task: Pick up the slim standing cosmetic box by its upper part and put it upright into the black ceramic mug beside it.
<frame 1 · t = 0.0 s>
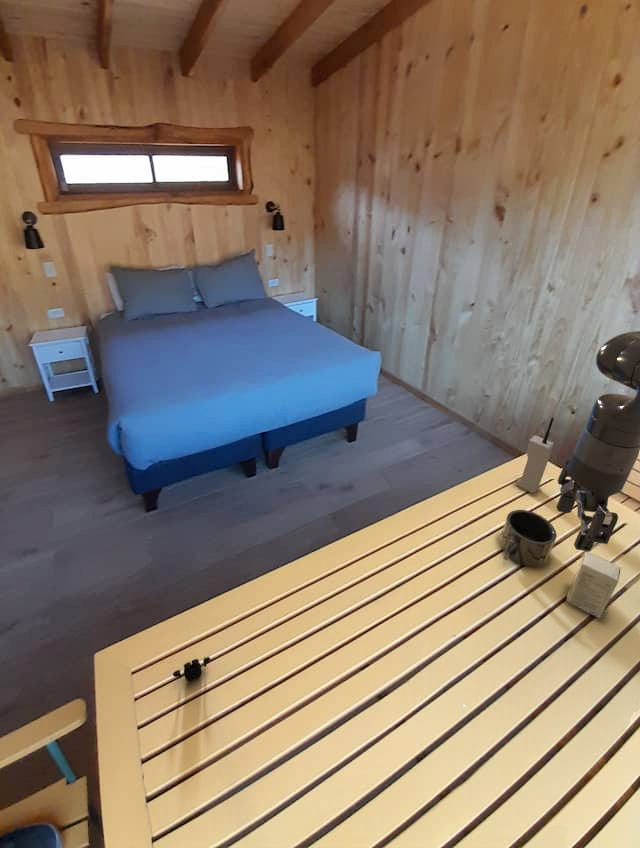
hand: (571, 528, 71), 28 cm above the table, tool pointing down, fingers open, 8 cm apart
cosmetic box: (582, 603, 88), on the table
wireless earbuds: (194, 679, 76), on the table
mug: (522, 549, 100), on the table
vintage mobile phone: (526, 487, 119), on the table
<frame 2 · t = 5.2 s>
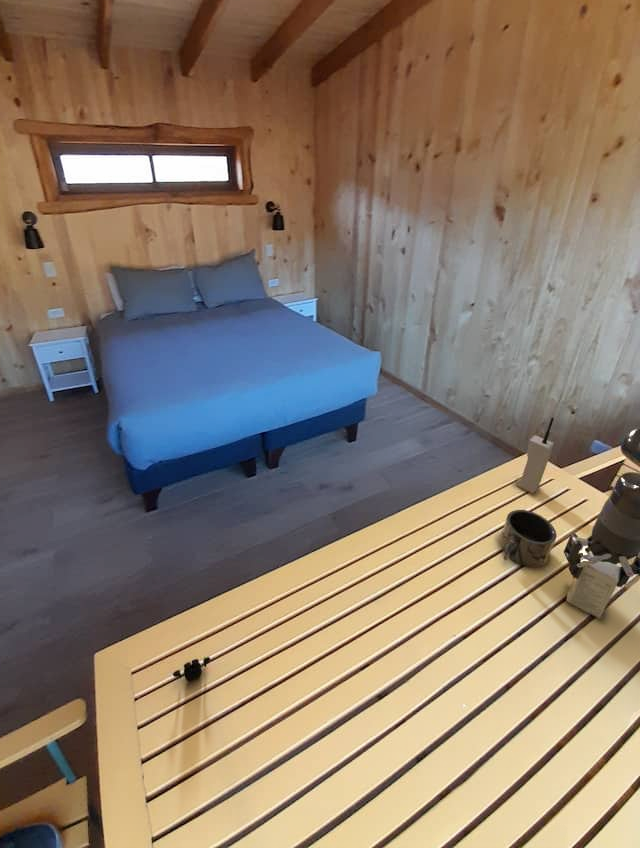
hand: (595, 578, 84), 8 cm above the table, tool pointing down, fingers closed on cosmetic box, 7 cm apart
cosmetic box: (582, 603, 88), on the table, touching gripper
everything else where it was.
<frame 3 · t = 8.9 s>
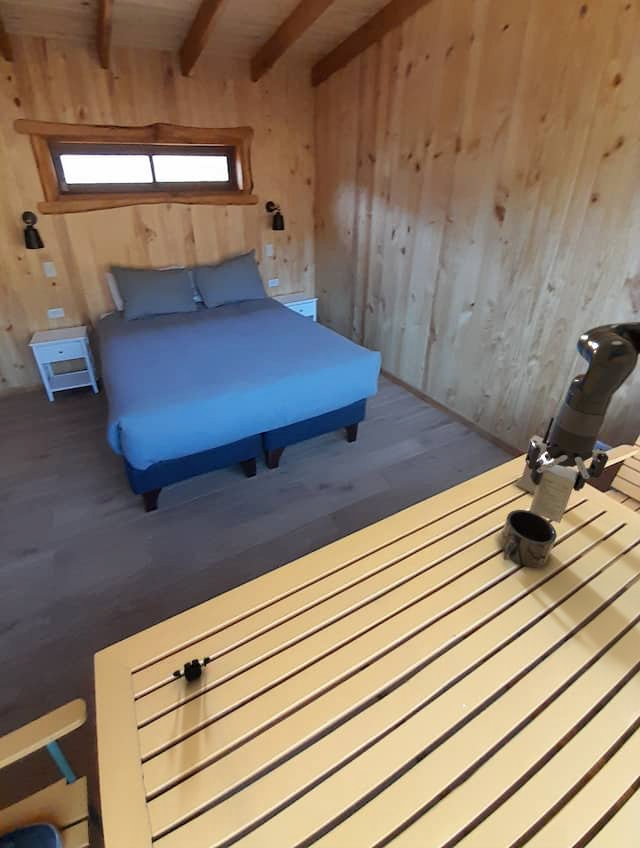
hand: (555, 485, 89), 22 cm above the table, tool pointing down, fingers closed on cosmetic box, 7 cm apart
cosmetic box: (545, 512, 92), point 14 cm above the table, touching gripper
everything else where it was.
when the fingers open (9 cm above the table, at t = 12.7 s): cosmetic box stays where it is, resting on mug.
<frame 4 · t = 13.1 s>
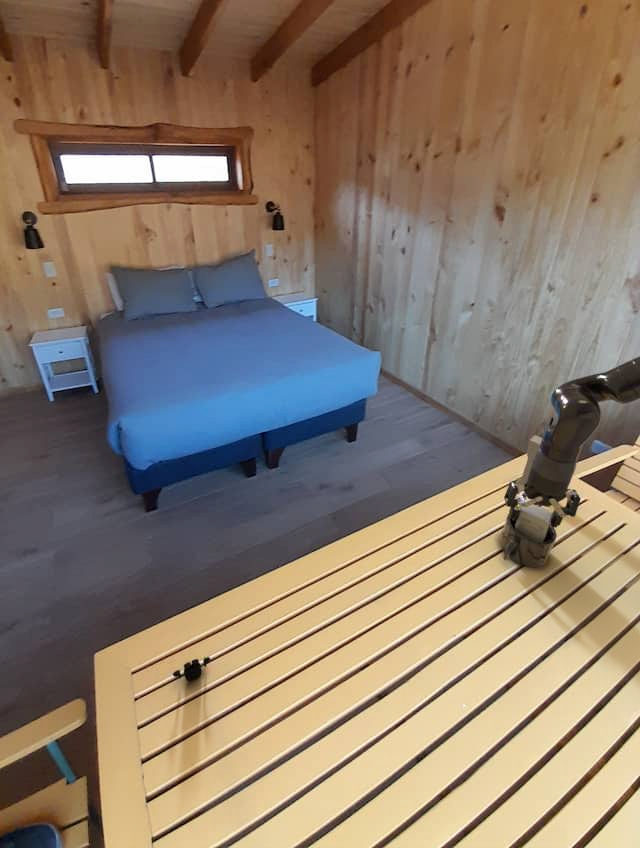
hand: (533, 521, 96), 10 cm above the table, tool pointing down, fingers open, 8 cm apart
cosmetic box: (524, 547, 100), point 1 cm above the table, touching mug
everything else where it was.
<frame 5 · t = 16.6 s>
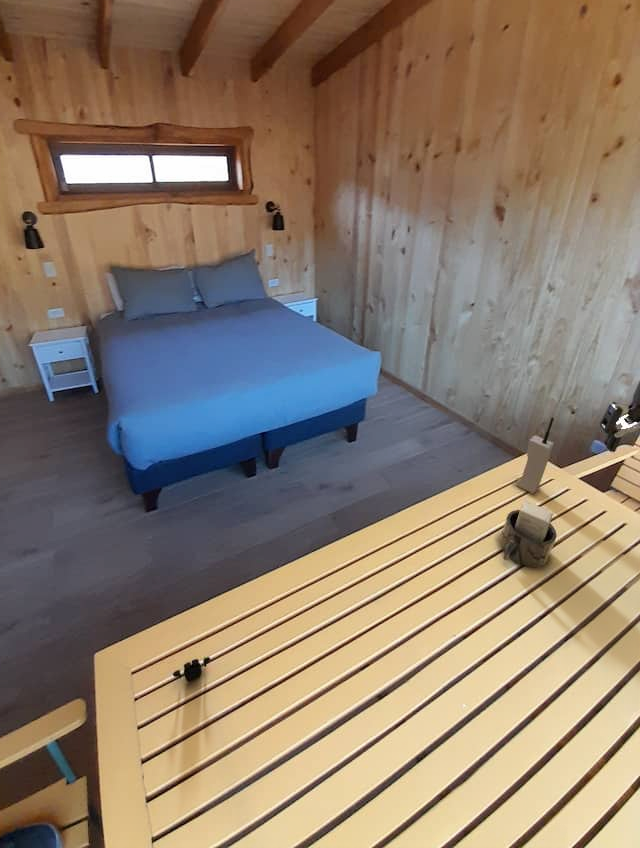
hand: (634, 452, 80), 34 cm above the table, tool pointing down, fingers open, 8 cm apart
nothing on the table moved.
at the end: cosmetic box 0.2 cm off-centre in the mug, point 0.6 cm above the mug's base; the gripper is holding nothing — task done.
